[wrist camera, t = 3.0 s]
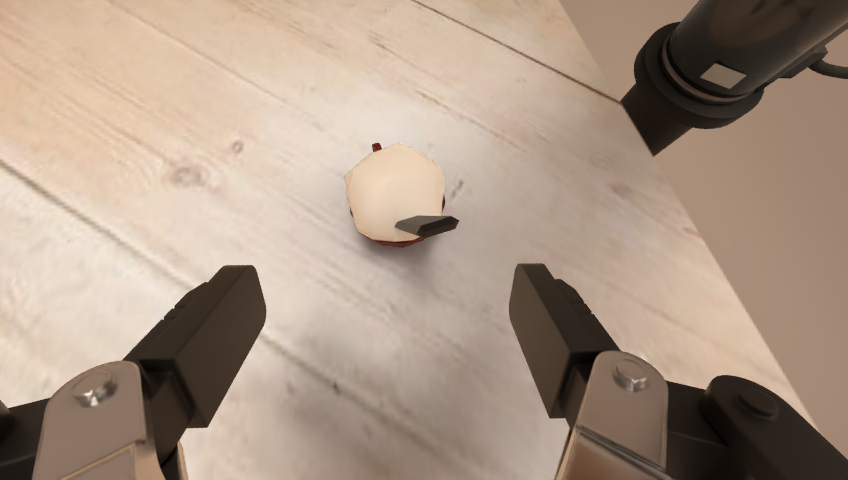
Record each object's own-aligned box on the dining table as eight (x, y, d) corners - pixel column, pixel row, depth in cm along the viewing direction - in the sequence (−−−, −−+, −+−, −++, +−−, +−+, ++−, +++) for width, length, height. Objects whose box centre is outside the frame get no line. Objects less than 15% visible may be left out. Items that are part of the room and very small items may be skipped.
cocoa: (362, 164, 26) (325, 25, 14) (441, 169, 26) (467, 35, 15) (350, 284, 23) (292, 229, 12) (438, 288, 23) (468, 237, 12)
